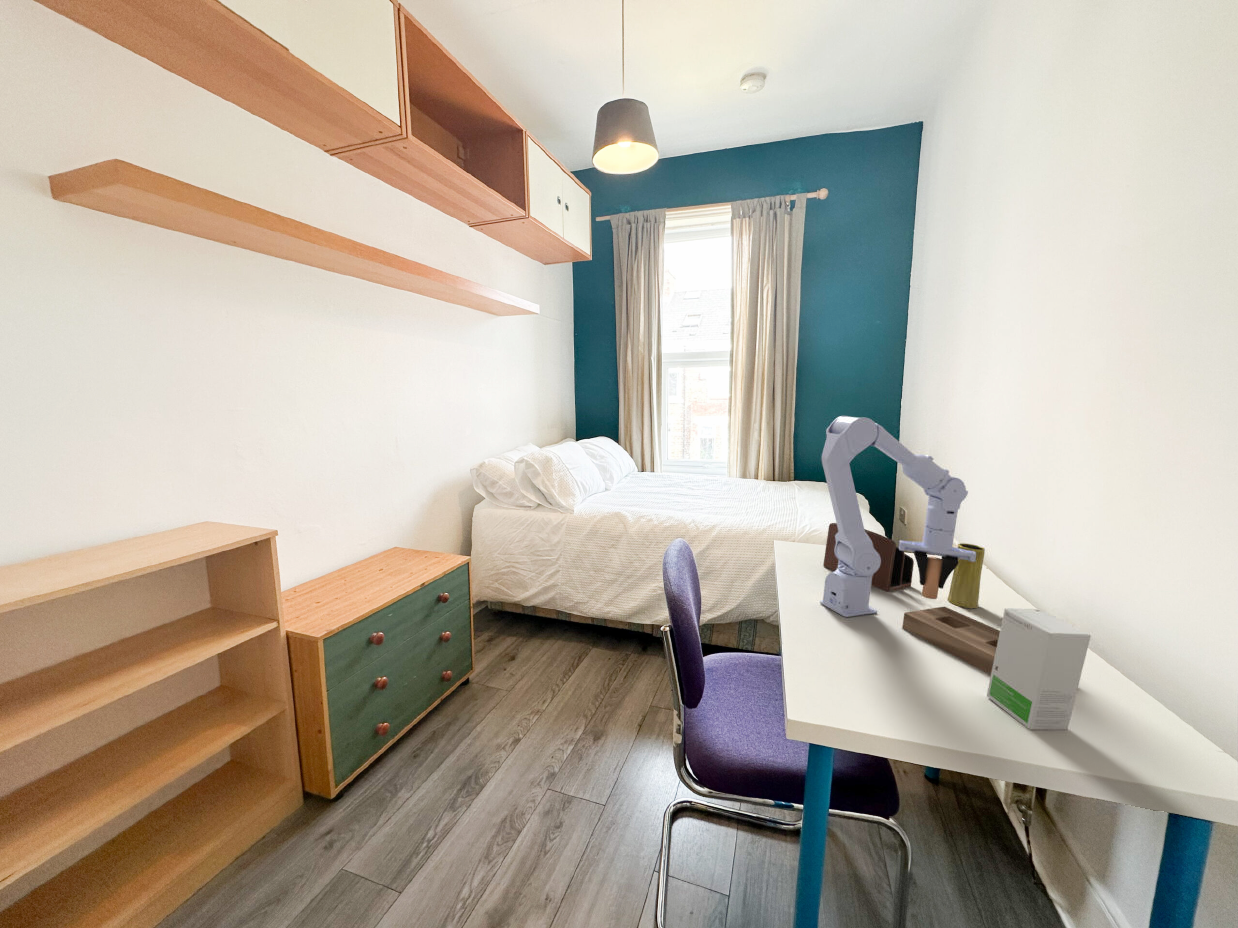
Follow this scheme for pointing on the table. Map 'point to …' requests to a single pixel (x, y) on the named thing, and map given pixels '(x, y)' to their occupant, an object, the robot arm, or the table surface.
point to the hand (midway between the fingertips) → (931, 585)
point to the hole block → (955, 635)
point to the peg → (932, 577)
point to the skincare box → (1037, 668)
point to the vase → (967, 579)
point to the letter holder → (893, 561)
